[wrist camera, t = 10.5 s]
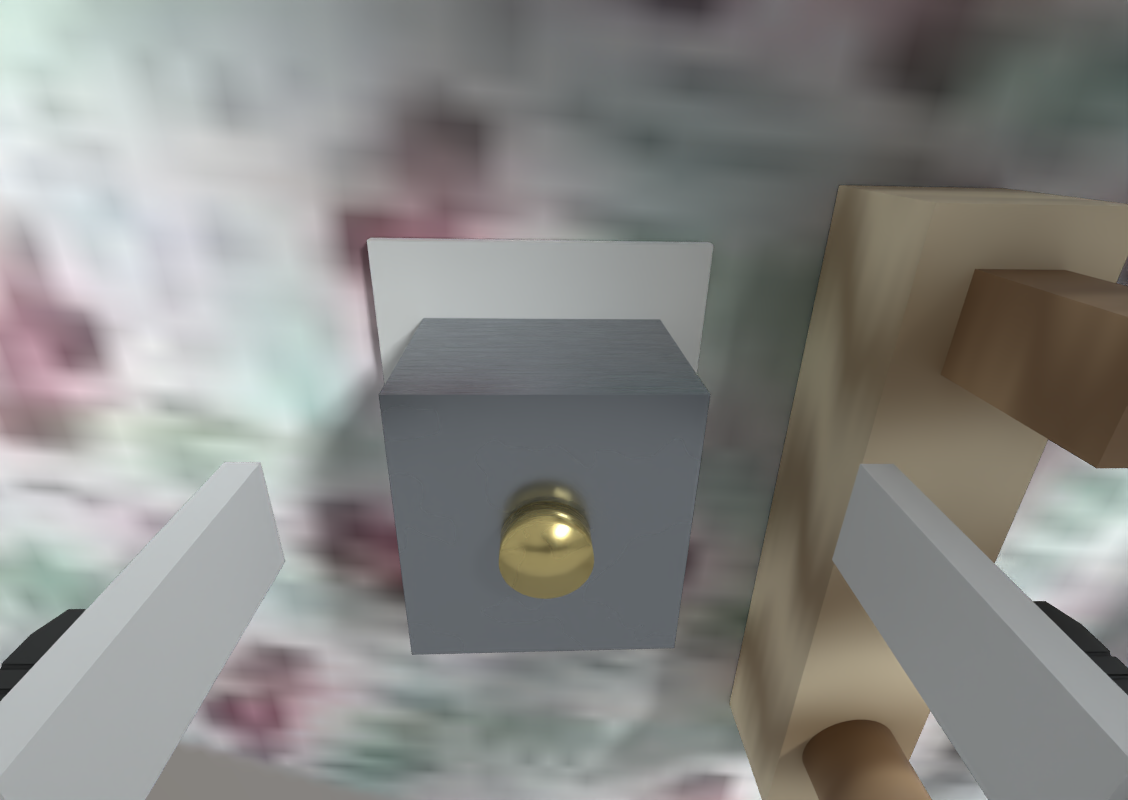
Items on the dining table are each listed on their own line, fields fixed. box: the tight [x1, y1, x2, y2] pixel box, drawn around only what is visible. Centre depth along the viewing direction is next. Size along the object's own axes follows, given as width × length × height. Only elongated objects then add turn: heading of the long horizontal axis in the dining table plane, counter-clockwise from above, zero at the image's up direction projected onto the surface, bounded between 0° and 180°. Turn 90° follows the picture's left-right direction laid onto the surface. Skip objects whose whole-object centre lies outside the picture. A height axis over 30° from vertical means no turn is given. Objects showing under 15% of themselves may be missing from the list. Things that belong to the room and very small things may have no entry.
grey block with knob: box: [379, 318, 710, 655], centre depth 15 cm, size 7×6×6 cm
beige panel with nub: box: [729, 185, 1128, 800], centre depth 16 cm, size 20×4×8 cm, turn 179°
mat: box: [367, 238, 714, 385], centre depth 17 cm, size 11×9×1 cm
